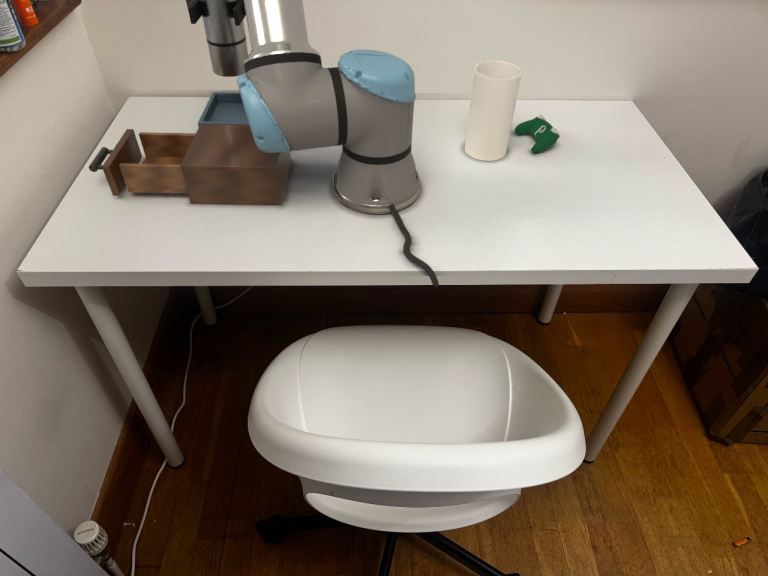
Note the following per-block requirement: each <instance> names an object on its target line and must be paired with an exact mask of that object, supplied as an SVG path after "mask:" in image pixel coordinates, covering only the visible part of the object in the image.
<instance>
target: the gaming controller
mask: <svg viewBox="0 0 768 576" xmlns="http://www.w3.org/2000/svg"><path fill="white" fill-rule="evenodd" d="M514 133H515V134H516V135H518V136H519V135H520V136H521V135H527V134H531V136H532V137H533V138H534V139H535V140H536V142H535V143H534V144H533V146H532V147H531V149H530V151H531V152H532V153H534V154H537V153H540V152H543V151H546V150H547V149H549V148H551V147H552V146H553V145H554V144H556V143H557V141H558V140H559V138H560V132H559V131H558V130H557V128H555V127H554V126H553V125H552V124H551V123H550V122H548V121H547V119H546V118H545V117H544V116H543V115H542V114H540V113H539V114H538V115H537V116H535V117H534V118H532V119H529V120H526V121H523V122H521V123H518V124H517V125H515V128H514Z"/></svg>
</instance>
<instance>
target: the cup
mask: <svg viewBox="0 0 768 576" xmlns="http://www.w3.org/2000/svg"><path fill="white" fill-rule="evenodd" d="M521 79H522V69H521V68H520V66H518V65H517V64H514V63H511V62H509V61H504V60H485V61H481V62H479V63H477V65H475V67H474V73H473V81H472V88H471V96H470V104H469V111H468V118H467V126H466V133H465V140H464V152H465V154H466V155H468V156H469V157H471V158H472V159H475V160H477V161H483V162H494V161H498V160H501V159H503V158H504V157H506V155H507V152H508V147H509V141H510V135H511V130H512V125H513V121H514V120H513V119H514V115H515V110H516V105H517V99H518V94H519V88H520V83H521Z"/></svg>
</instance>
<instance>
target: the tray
mask: <svg viewBox="0 0 768 576" xmlns="http://www.w3.org/2000/svg"><path fill="white" fill-rule="evenodd" d="M200 124H209V125H249V122H248V119H247V115H246V112H245V109H244V105H243V102H242V98H241V94H240V92H232V91H231V92H229V91H228V92H225V91H213V92H212V94H211V95H210V97H209V99H208V101H207V102H206V105H205V107H204V109H203V111H202V113H201V115H200V117H199V119H198V121H197V126H198V128H199V126H200Z"/></svg>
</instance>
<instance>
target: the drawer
mask: <svg viewBox="0 0 768 576" xmlns="http://www.w3.org/2000/svg"><path fill="white" fill-rule="evenodd" d="M195 134H196V132H150V131H149V132H147V131H146V132H145V131H143V132H141V131H140V132H139V133H138V137H139V140H140V144H141V147H142V149H143V153H144V156H145V157H144V159H143V154H142V151H141V148H140V146H139V145H140V144H139V143H138V139H137V136H136V132H135V130H134V129H133V128H126V130H125V131H124V132H123V134H122V136H121V137H120V138H119V140H118V142H117V143H116V144H115V146H114V148H113V149H109V148H108V147H107V146H103V147H101V148H100V149H99V150H98V153H97V154H96V155H95V157H94V158H93V159H92V161H91V162H90V164H89V165H88V170H89V171H91V172H93V173H96V172H98V170H100V171H103V173H104V176H105V178H106V181H107V184H108V187H109V189H110V192H111V195H112V196H113V197H120V196H121V195H122V193H123V192H124V190H125V188H126V189H127V192H128V193H150V194H188V192H187V188H186V185H185V181H184V177H183V174H182V169H181V166H180V165H181V163H182V161H183V159H184V157H185V155H186V153H187V151H188V149H189V147H190V145H191V143H192V141H193V138H194V136H195ZM142 159H143V161H142ZM141 161H142V162H141Z"/></svg>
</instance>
